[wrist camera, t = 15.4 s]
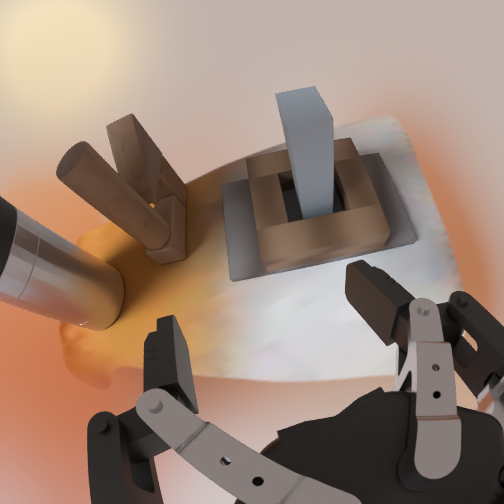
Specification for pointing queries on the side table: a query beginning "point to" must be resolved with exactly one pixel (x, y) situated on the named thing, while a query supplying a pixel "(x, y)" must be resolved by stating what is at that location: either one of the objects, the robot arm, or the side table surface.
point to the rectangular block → (309, 148)
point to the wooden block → (132, 188)
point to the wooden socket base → (312, 229)
